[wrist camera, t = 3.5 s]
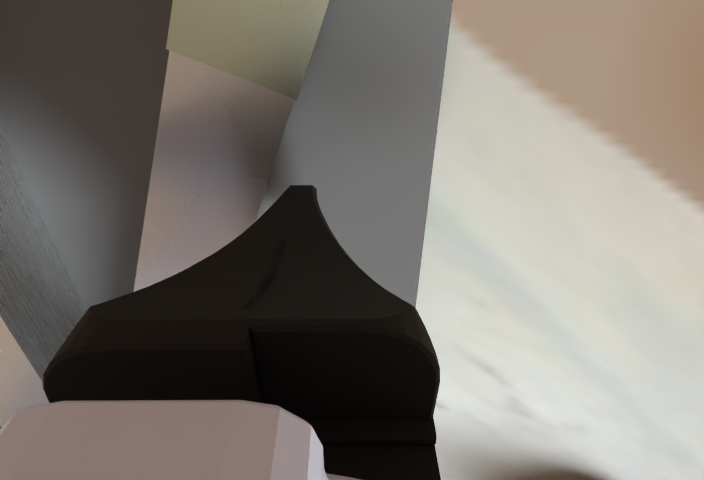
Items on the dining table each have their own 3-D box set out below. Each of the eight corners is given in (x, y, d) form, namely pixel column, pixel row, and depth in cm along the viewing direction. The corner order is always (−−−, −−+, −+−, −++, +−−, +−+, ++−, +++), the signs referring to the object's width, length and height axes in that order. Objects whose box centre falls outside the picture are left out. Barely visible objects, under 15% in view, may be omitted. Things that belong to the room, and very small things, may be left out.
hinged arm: (190, 427, 20) (167, 498, 17) (100, 409, 19) (62, 481, 16) (369, -127, 9) (380, -157, 6) (174, -232, 8) (94, -315, 5)
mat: (2, 444, 22) (-3, 452, 21) (-842, -570, 6) (-908, -599, 6) (397, 439, 22) (398, 447, 22) (512, -537, 7) (520, -563, 6)
